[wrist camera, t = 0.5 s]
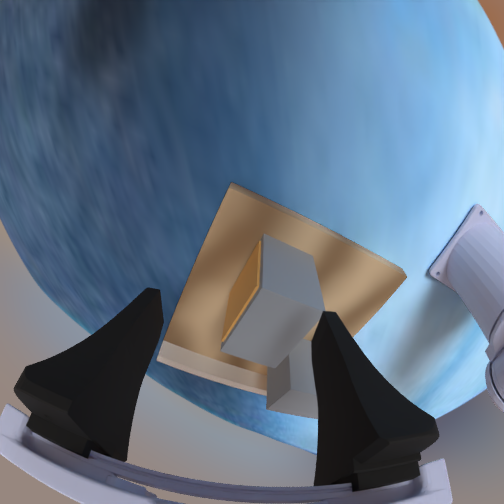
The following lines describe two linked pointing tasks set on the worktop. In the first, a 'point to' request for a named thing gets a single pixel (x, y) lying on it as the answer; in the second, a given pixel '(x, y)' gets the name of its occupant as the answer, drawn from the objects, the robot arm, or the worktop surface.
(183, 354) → the rail
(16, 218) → the worktop surface
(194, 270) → the shelf board
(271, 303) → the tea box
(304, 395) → the faced box
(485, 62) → the worktop surface
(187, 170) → the worktop surface
